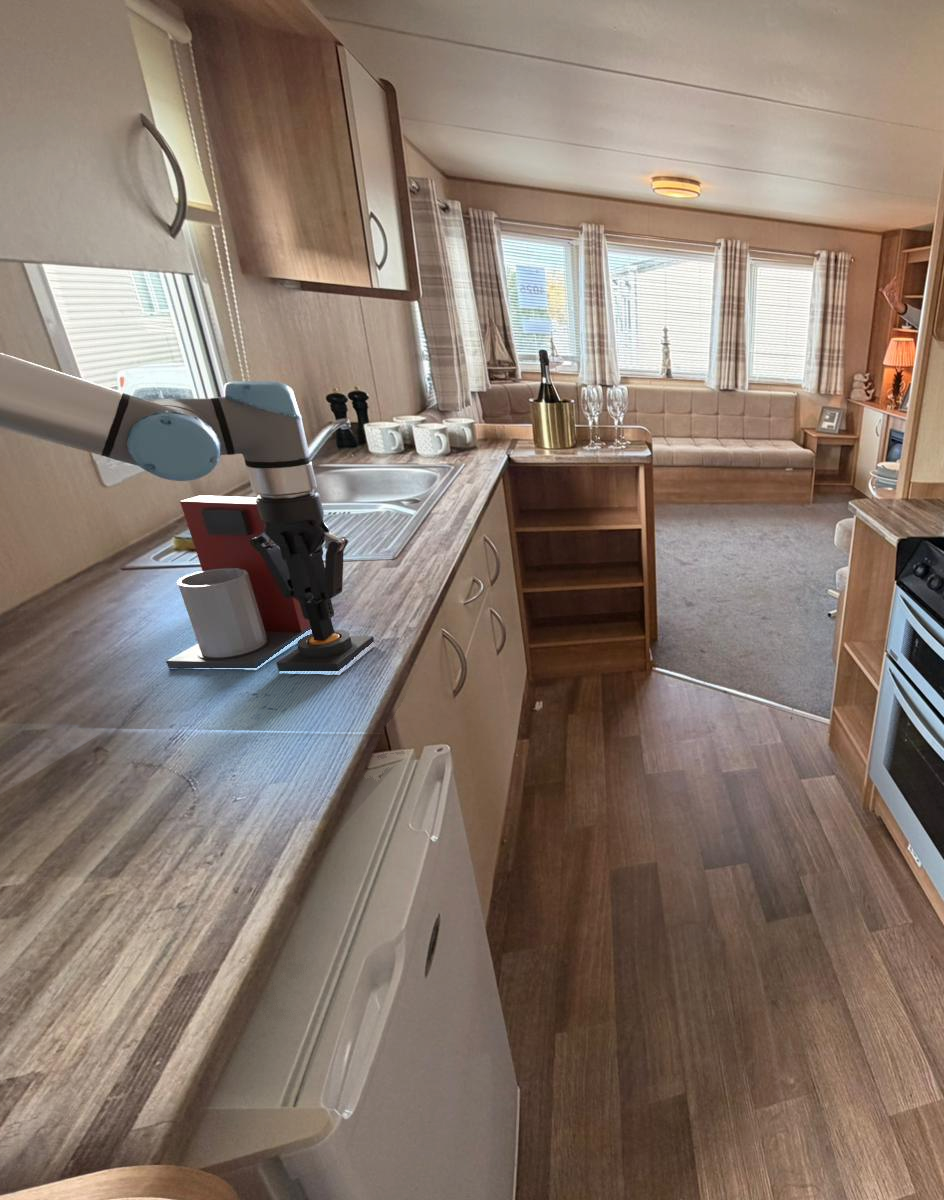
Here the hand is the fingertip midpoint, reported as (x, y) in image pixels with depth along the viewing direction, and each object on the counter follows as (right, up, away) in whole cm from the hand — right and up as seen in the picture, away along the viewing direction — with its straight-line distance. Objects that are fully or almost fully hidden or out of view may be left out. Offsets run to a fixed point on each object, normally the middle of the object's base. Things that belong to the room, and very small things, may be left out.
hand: (324, 636), depth 102 cm
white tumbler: (-15, -2, +1) cm, 15 cm away
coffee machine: (-15, -2, +4) cm, 16 cm away
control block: (0, -4, +2) cm, 4 cm away
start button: (0, -2, +1) cm, 2 cm away
